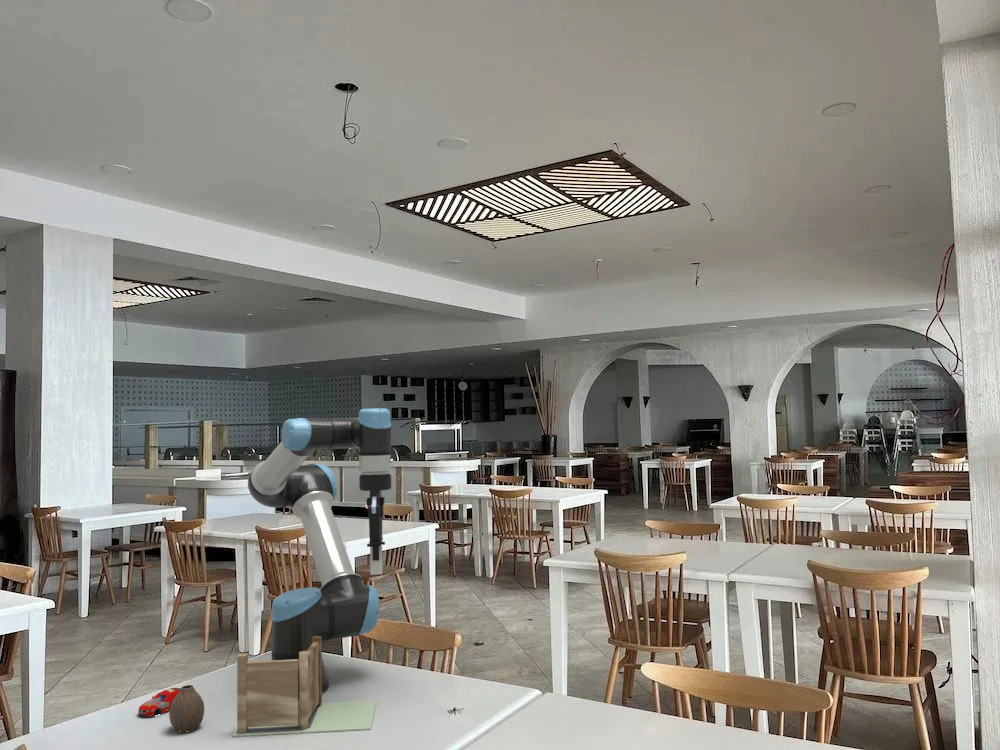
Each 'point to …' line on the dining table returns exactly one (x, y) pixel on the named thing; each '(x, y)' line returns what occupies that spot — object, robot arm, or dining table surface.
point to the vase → (186, 709)
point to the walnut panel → (314, 674)
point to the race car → (158, 703)
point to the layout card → (326, 720)
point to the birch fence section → (272, 692)
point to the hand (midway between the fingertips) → (376, 573)
